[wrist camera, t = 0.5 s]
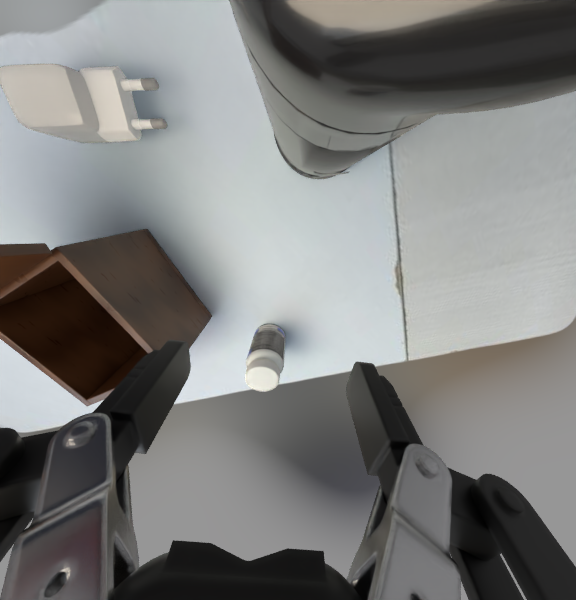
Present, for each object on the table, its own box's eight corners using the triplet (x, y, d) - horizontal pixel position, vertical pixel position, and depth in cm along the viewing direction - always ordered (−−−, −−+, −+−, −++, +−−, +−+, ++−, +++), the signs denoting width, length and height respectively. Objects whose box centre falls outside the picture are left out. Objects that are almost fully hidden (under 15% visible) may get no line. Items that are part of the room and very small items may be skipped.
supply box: (212, 316, 31) (173, 371, 21) (147, 346, 33) (86, 406, 24) (147, 228, 26) (55, 246, 16) (77, 272, 28) (-37, 310, 19)
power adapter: (175, 85, 20) (131, 43, 14) (187, 147, 22) (152, 131, 17) (61, 90, 20) (-22, 51, 15) (83, 151, 22) (18, 136, 17)
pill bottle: (250, 325, 31) (236, 366, 24) (282, 320, 31) (277, 361, 23) (259, 351, 33) (247, 396, 26) (288, 347, 33) (286, 392, 25)
